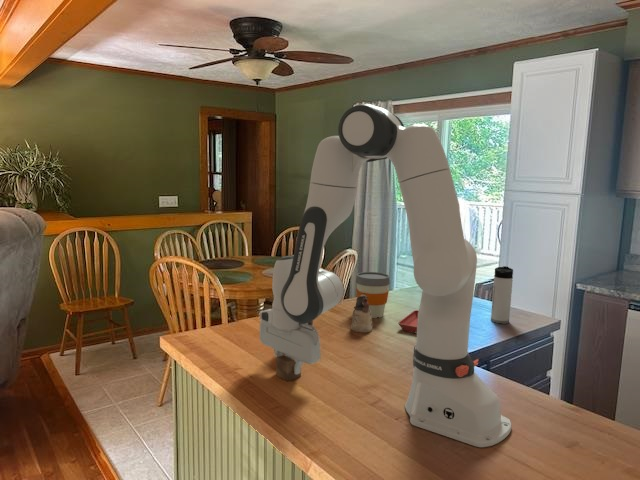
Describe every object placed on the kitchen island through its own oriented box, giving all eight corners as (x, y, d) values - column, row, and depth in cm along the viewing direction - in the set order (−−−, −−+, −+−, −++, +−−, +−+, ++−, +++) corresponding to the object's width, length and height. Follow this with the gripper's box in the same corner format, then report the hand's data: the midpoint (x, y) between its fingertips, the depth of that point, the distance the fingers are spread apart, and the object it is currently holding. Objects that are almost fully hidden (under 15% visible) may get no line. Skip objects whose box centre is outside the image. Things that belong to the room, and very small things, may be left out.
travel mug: (510, 320, 175) (515, 267, 172) (507, 325, 170) (511, 270, 167) (493, 317, 179) (497, 265, 176) (488, 321, 173) (493, 268, 170)
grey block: (300, 376, 123) (301, 357, 122) (287, 381, 120) (287, 362, 119) (289, 370, 126) (289, 352, 125) (276, 375, 123) (276, 357, 122)
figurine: (367, 325, 166) (368, 291, 164) (375, 331, 159) (377, 297, 157) (348, 326, 163) (349, 292, 162) (356, 333, 157) (357, 298, 155)
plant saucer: (450, 342, 152) (450, 332, 151) (396, 332, 160) (397, 322, 160) (463, 327, 167) (464, 318, 167) (414, 318, 176) (414, 309, 176)
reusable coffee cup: (355, 308, 186) (357, 271, 184) (388, 310, 184) (389, 272, 182) (353, 318, 173) (354, 278, 171) (388, 320, 172) (390, 279, 170)
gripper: (327, 325, 115) (325, 379, 117) (274, 306, 130) (273, 355, 132) (308, 330, 111) (307, 386, 113) (255, 311, 126) (255, 361, 127)
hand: (288, 369), depth 123 cm, fingers closed on grey block, 4 cm apart
